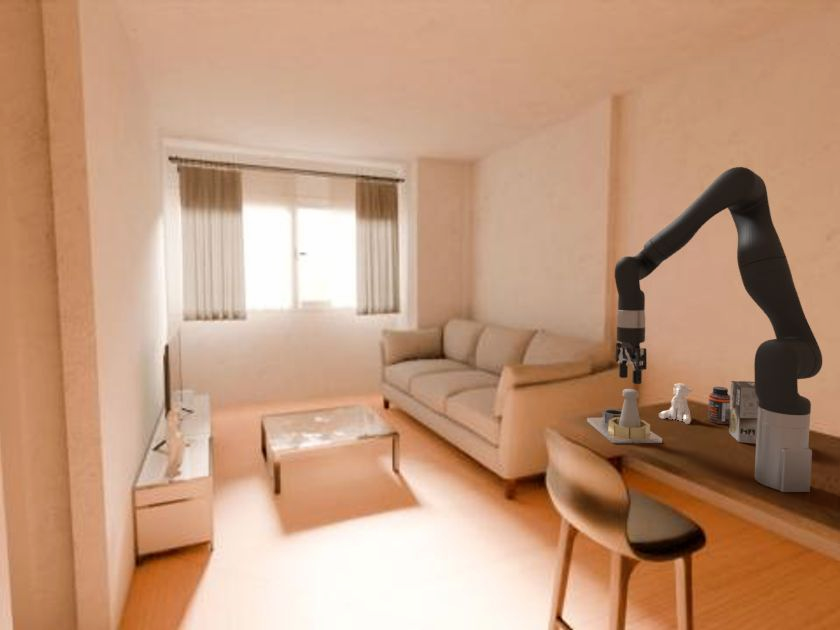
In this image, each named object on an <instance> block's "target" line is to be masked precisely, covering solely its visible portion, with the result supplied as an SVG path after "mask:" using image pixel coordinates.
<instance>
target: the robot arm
mask: <svg viewBox="0 0 840 630" xmlns="http://www.w3.org/2000/svg"><path fill="white" fill-rule="evenodd" d="M726 209H728V211H729V213H730V215H731V217H732V221H733V222H734V226H735V228H736V232H737V250H736V253H737V254H736V255H737V256H736V259H737V266H738V267H737V268H738V270H739V274H740V277H741V281H742V283H743V287H744V289H745V291H746V293H747V294H748V296H749V297H750V298H751V299H752V300H753V302H754V303H755V304H756V305H757V306H758V307H759V309H760V310H761V311H762V313H764V314H765V315H766V317H767V318H768V320H769V322H770V323H771V326H772V329H773V331H774V336H775V338H773V339H767V340H764V341H763V342H762V343H760V345H759V346H758V347H757V349H756V352H755V355H754V365H753V366H754V367H753V368H754V372H753V373H754V382H755V392H756V395H757V398H758V419H757V438H756V444H755V457H754V458H755V459H754V460H755V461H754V462H755V463H754V464H755V465H754V479H755V481H756V482H757V483H760V484H761V485H762V486H765V487H769V488H771V489H774V490H778V491H780V493H810V490H811V489H810V488H811V475H812V474H811V473H812V458H813V457H812V456H813V450H812V449H810V448H809V440H810V423H811V414H812V413H811V412H812V403H811V401H810V399H808V398H807V397H805V396H803V395H800V392H799V389H798V388H799V387H798V384H799V383H798V380H804V379H811V378H813V377H815V376H816V375H818V374H819V373H820V372H821V369H822V367H823V366H822V365H823V355H822V350H821V348H820V346H819V344H818V341H817V339H816V337H815V334H814V333H813V331H812V329H811V326H810V324H809V321H808V319H807V317H806V315H805V313H804V310H803V306H802V304H801V300H800V297H799V295H798V292H797V289H796V285H795V282H794V278H793V275H792V272H791V268H790V265H789V262H788V259H787V256H786V253H785V250H784V248H783V244H782V242H781V239H780V237H779V235H778V232H777V230H776V228H775V226H774V221H773V219H772V214H771V209H770V203H769V198H768V190H767V185H766V183H765V180H764V179H763V178H762V177H761V176H760V175H759V174H757V173H755V172H754V171H753V170H751V169H749V168H747V167H744V166H735V167H732V168H729V169H727V170H725V171H724V172H723V173H721V174H720V175H719V176H718V177H717V178H716V179H715V180H714V181H713V182H712V183H710V185H709V186H708V187H707V188H706V189H705V190H704V191H703V192H702V193H701V194H699V196H698V197H697V198H696V199H695V200H694V201H693V202H692V203H691V204H690V205H689V206H688V207H687V208H686V209H685V210H684V211H683V212H682V213H681V214H679V216H677V217H676V218H675V219H674V220H672V222H670V223H669V224H667V226H665V227H664V228H663V229H662V230H660V231H659V232H658V233H656V234H655V235H654V236H653V237H651V238H649V240H647V241H646V242H645V244H644V245H643V249H642V250H641V251H639V252H638V253H637V254H636V255H635V256H629V255H628V256H624V257H621V258H620V259H619V260H618V261H617V262H616V264H615V267H614V281H615V286H616V290H617V294H618V300H617V315H616V341H617V342H616V344H615V362H617V364H618V365H619V368H618V374H619V375H618V377H619V378H621V379H626V378H628V371H629V370H628V369H629V367H628V365H629V364H630V365H631V367H632V384H634V385H641V384H642V378H643V377H642V376H643V375H642V373H643V371H644V370H647V348H645V347H643V348H642V347H641V346H640V345H641V343H645V341H646V313H645V308H646V307H645V305H646V303H645V300H646V296H645V295H646V294H645V293H644V291H643V290H642V289H641V284H640V281H641V280H643V279H645V278H647V277H648V276H650V275H651V274H652V273H653V272H654V271H655V270H656V269H657V268H658V267H659V266H660V265H661V264H662V263H663V262H664V261H666V260H668V259H669V258H670V257H672V256H673V255H674V254H676V253H677V252H679V251H680V250H681V249H682V248H684V247H685V246H686V245H687V244H688V243H689V242H691V240H692V239H693V237H694V236H696V235H697V232H699V231H700V229H702V227H703V226H704V225H705V224H706V223H707V222H708V221H709V220H710V219H712V218H713V217H715V216H716V215H717V214H719V213H720V212H721V213H722V211H724V210H726Z"/></svg>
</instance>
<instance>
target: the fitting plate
mask: <svg viewBox="0 0 840 630" xmlns="http://www.w3.org/2000/svg"><path fill="white" fill-rule="evenodd" d="M621 413H622V410H619V409H614V408H612V409H610V408H609V409H608V408H607V409H604V410H602V412H601V414H602V416H601V417H587V418H586V421H587V423H588V424H590V425H591V427H593V428H594V429H595V430H597V431H598V432H599V433H600V434H601V435H602V436H604V438H606V439H607V440H608V441H610V443H612V444H662V443H663V438H662V437H660V436H659V435H658V434H656V433H654V432H653V431H651V424H650V423H648V422H647V421H645V420H643V419H640V425H641V427H626V426H621V425H619V421H620V417H621ZM632 442H634V443H632Z"/></svg>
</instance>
